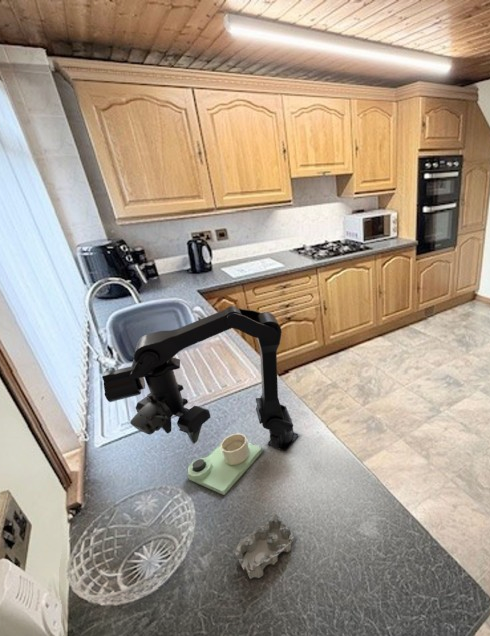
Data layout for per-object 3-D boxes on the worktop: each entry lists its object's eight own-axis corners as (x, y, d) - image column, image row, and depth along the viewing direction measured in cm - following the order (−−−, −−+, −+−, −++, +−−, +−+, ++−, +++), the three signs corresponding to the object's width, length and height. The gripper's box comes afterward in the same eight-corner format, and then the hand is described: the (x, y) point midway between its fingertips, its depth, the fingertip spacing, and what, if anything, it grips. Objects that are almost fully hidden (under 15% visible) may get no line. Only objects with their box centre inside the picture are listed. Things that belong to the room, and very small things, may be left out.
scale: (228, 438, 102) (226, 430, 101) (263, 451, 97) (261, 443, 96) (185, 479, 90) (182, 471, 89) (223, 496, 85) (220, 488, 84)
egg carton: (251, 586, 67) (247, 574, 65) (235, 556, 72) (230, 544, 70) (298, 546, 73) (295, 534, 72) (279, 522, 78) (277, 510, 77)
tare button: (200, 461, 92) (198, 457, 91) (207, 465, 90) (206, 460, 90) (191, 469, 89) (189, 465, 89) (199, 473, 88) (197, 469, 88)
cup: (236, 444, 98) (232, 430, 96) (254, 450, 96) (251, 437, 94) (219, 461, 93) (215, 447, 91) (238, 469, 90) (234, 455, 88)
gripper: (103, 398, 77) (127, 449, 84) (160, 419, 70) (181, 474, 77) (148, 371, 86) (166, 419, 93) (203, 388, 79) (219, 439, 86)
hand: (181, 437), depth 87 cm, fingers open, 9 cm apart
